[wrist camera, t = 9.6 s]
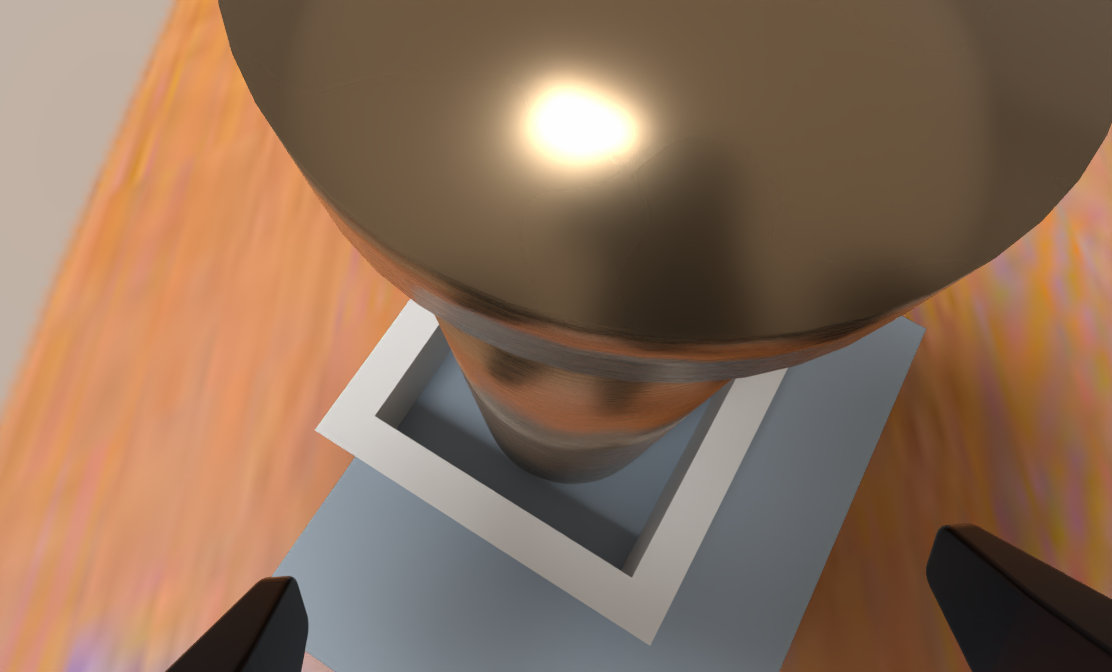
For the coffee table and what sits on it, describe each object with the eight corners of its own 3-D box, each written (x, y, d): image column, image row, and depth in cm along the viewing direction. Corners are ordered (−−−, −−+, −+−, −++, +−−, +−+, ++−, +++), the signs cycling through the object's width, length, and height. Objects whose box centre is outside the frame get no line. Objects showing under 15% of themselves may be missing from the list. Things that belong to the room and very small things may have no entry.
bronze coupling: (671, 510, 16) (1238, 388, 3) (453, 488, 16) (81, 278, 3) (678, 305, 18) (1055, -329, 5) (481, 286, 18) (322, -394, 5)
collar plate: (666, 888, 15) (701, 979, 12) (249, 595, 16) (184, 608, 13) (906, 339, 19) (976, 301, 16) (559, 154, 21) (563, 89, 18)
